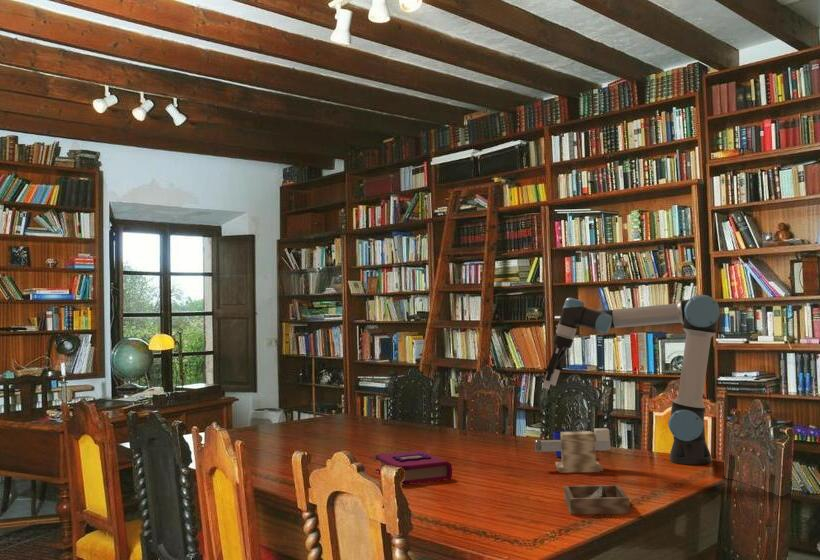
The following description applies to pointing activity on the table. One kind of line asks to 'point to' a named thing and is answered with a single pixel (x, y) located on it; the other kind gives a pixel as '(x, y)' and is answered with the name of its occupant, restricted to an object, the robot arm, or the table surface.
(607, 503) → the wooden tray
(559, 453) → the mug
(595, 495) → the rock sample
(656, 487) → the table surface
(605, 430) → the spacer
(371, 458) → the table surface
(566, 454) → the block
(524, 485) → the table surface
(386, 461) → the book
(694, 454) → the robot arm
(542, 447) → the shaft
